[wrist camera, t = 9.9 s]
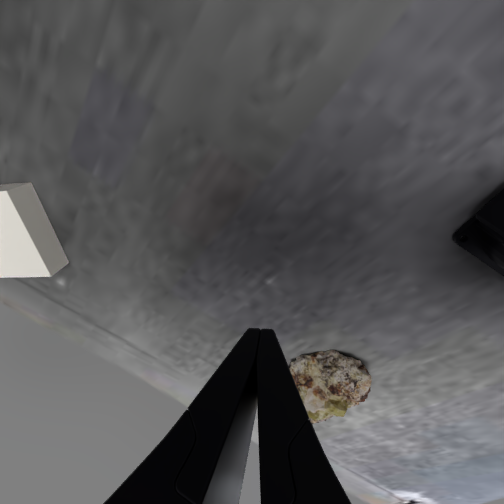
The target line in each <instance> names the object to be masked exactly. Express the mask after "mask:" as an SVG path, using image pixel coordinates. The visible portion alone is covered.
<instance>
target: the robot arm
mask: <svg viewBox="0 0 504 504" xmlns="http://www.w3.org/2000/svg"><path fill="white" fill-rule="evenodd" d="M464 235H465V237H464V238H463V239H460V238H461V237H462V236H464ZM453 240H454V241H455V242H456V243H457V244H458V245H459V246H461V247H462V248H464V249H465V250H467V251H468V252H470V253H471V254H472V255H474V256H475V257H477V258H478V259H480V260H481V261H483V262H484V263H486V264H487V265H489V266H490V267H492V268H493V269H494V270H496V271H497V272H499V273H500V274H502V275H503V276H504V189H503V190H502V191H501V192H500V193H499V194H498V195H497V196H496V197H494V198H493V199H492V200H491V201H490V202H489V203H488V204H487V205H485V206H484V207H483V208H482V209H481V210H480V211H479V212H477V214H476V215H475V216H473V217H472V218H471V219H470V220H469V221H468V222H467V223H465V224H464V225H463V226H462V227H461V228H460V229H459V230H458V231H456V232H455V234H454V235H453ZM257 403H258V433H259V461H260V492H261V504H351V502H350V500H349V499H348V497H347V495H346V493H345V491H344V489H343V488H342V486H341V484H340V482H339V480H338V478H337V477H336V475H335V473H334V471H333V469H332V467H331V465H330V463H329V461H328V459H327V457H326V455H325V453H324V451H323V449H322V446H321V444H320V442H319V440H318V437H317V435H316V433H315V430H314V428H313V425H312V423H311V421H310V420H309V416H308V413H307V411H306V408H305V406H304V404H303V401H302V399H301V396H300V394H299V391H298V389H297V386H296V384H295V381H294V379H293V376H292V374H291V371H290V369H289V366H288V364H287V362H286V359H285V357H284V354H283V352H282V349H281V347H280V344H279V342H278V339H277V337H276V334H275V332H274V330H273V329H261V330H260V329H259V328H249V329H247V331H246V332H245V333H244V335H243V336H242V337H241V338H240V340H239V341H238V342H237V344H236V345H235V346H234V348H233V349H232V350H231V352H230V353H229V354H228V356H227V357H226V358H225V360H224V361H223V362H222V363H221V365H220V366H219V367H218V369H217V370H216V371H215V373H214V374H213V375H212V377H211V378H210V379H209V381H208V382H207V383H206V384H205V386H204V387H203V388H202V390H201V391H200V392H199V394H198V395H197V396H196V398H195V399H194V400H193V402H192V403H191V404H190V406H189V407H188V410H186V411H185V412H184V413H183V415H182V416H181V417H180V419H179V420H178V421H177V422H176V424H175V425H174V426H173V427H172V429H171V430H170V431H169V432H168V434H167V435H166V436H165V437H164V439H163V440H162V441H161V442H160V443H159V444H158V445H157V447H155V449H154V450H153V451H152V452H151V453H150V454H149V455H148V456H147V457H146V458H145V460H144V461H143V462H142V463H141V464H140V465H139V466H138V467H137V468H136V469H135V470H134V471H133V472H132V474H131V475H130V476H129V477H128V478H127V479H126V480H125V481H124V482H123V483H122V484H121V486H119V488H118V489H117V490H116V491H115V492H114V493H113V494H112V495H111V496H110V497H109V498H108V499H107V500H106V501H105V502H104V503H103V504H239V499H240V494H241V489H242V483H243V478H244V473H245V467H246V462H247V457H248V451H249V446H250V441H251V436H252V430H253V425H254V420H255V414H256V409H257Z"/></svg>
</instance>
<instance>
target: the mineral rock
mask: <svg viewBox="0 0 504 504" xmlns="http://www.w3.org/2000/svg"><path fill="white" fill-rule="evenodd" d="M290 364H291V366H290V368H289V369H290V371H291V374H292V376H293V379H294V381H295V384H296V386H297V389H298V391H299V394H300V396H301V399H302V401H303V404H304V406H305V408H306V411H307V413H308V416H309V420H310V421H311V423H312V424H313V423H319V422H322V421H323V420H325V421H326V419H329V418H331V417H332V416H334V415H335V416H341V417H343V416H344V415H345V413H346V410H347V408H350V407H351V406H355V405H358V404H359V402H364V401H365V399H366V398H367V396H368V393H369V392H370V385H371V375H370V374H369V372H368V371H367V369H366V368H365V366H364V365H362V364H361V361H360V360H359V361H358V360H356V359H354V358H352V357H346V356H344V355H342V354H340V353H339V352H338V351H335V350H328V351H326V352H323V351H320V352H317V353H314V354H311V355H300V356H299V357H296V360H295V361H294V362H291V363H290Z"/></svg>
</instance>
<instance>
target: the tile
mask: <svg viewBox="0 0 504 504" xmlns="http://www.w3.org/2000/svg"><path fill="white" fill-rule="evenodd" d="M68 263H69V261H68V259H67V257H66V255H65V253H64V251H63V248H62V246H61V244H60V242H59V240H58V238H57V236H56V234H55V232H54V229H53V227H52V225H51V223H50V221H49V219H48V217H47V215H46V213H45V210H44V208H43V206H42V204H41V202H40V200H39V198H38V196H37V194H36V191H35V189H34V187H33V185H32V183H31V182H29V183H15V184H2V185H0V278H2V277H51V276H53V275H54V274H55V273H57V272H58V271H59V270H61V269H62V268H63V267H65V266H66V265H67V264H68Z"/></svg>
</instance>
